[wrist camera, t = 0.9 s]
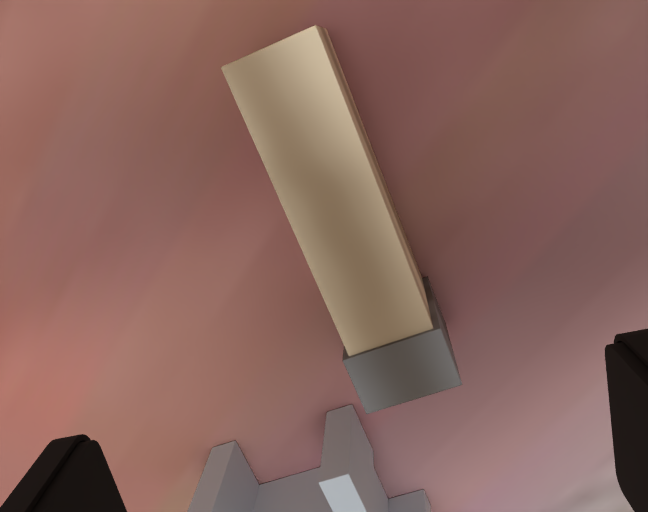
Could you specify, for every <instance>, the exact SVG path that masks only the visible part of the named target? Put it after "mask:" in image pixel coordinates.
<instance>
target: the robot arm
mask: <svg viewBox="0 0 648 512" xmlns="http://www.w3.org/2000/svg"><path fill="white" fill-rule="evenodd" d="M605 360H606V371H607V381H608V392H609V403H610V414H611V425H612V435H613V446H614V457H615V468H616V475H617V479H618V482H619V485H620V488H621V490H622V492H623V494H624V496H625V497H626V499H627V501H628V502H629V504H630V505H631V507H632V508H633V510H634V511H635V512H648V329H643V330H638V331H633V332H627V333H622V334H617V335H616V336H615V339H614V344H609V345H606V347H605ZM0 512H127V511H126V508H125V506H124V503H123V501H122V498H121V496H120V493H119V491H118V489H117V486H116V484H115V481H114V479H113V476H112V474H111V471H110V469H109V466H108V464H107V462H106V459H105V457H104V454H103V452H102V449H101V447H100V445H99V443H98V442H97V441H95V440H90V438H89V437H88V436H86V435H84V434H81V435H76V436H70V437H65V438H60V439H55V440H52V441H51V442H50V443H49V444H48V445H47V447H46V448H45V449H44V451H43V452H42V453H41V455H40V456H39V457H38V458H37V460H36V461H35V462H34V464H33V465H32V466H31V468H30V469H29V470H28V472H27V473H26V474H25V476H24V477H23V478H22V480H21V481H20V482H19V484H18V485H17V486H16V488H15V489H14V490H13V491H12V493H11V494H10V495H9V497H8V498H7V499H6V501H5V502H4V503H3V505H2V506H1V507H0Z"/></svg>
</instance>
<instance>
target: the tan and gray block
mask: <svg viewBox="0 0 648 512" xmlns="http://www.w3.org/2000/svg"><path fill="white" fill-rule="evenodd" d="M221 69H222V71H223V73H224V76H225V78H226V80H227V82H228V85H229V87H230V89H231V91H232V94H233V96H234V98H235V100H236V103H237V105H238V107H239V109H240V112H241V114H242V116H243V118H244V121H245V123H246V125H247V128H248V130H249V132H250V134H251V137H252V139H253V141H254V143H255V146H256V148H257V150H258V152H259V155H260V157H261V159H262V161H263V164H264V166H265V168H266V170H267V173H268V175H269V177H270V179H271V182H272V184H273V186H274V188H275V191H276V193H277V195H278V197H279V200H280V202H281V204H282V206H283V209H284V211H285V213H286V215H287V218H288V220H289V222H290V224H291V227H292V229H293V231H294V233H295V236H296V238H297V240H298V243H299V245H300V247H301V249H302V252H303V254H304V256H305V258H306V261H307V263H308V265H309V267H310V270H311V272H312V274H313V276H314V279H315V281H316V283H317V285H318V288H319V290H320V292H321V294H322V297H323V299H324V301H325V303H326V306H327V308H328V310H329V312H330V315H331V317H332V319H333V321H334V324H335V326H336V328H337V330H338V333H339V335H340V337H341V339H342V342H343V344H344V351H343V362H344V365H345V367H346V369H347V371H348V374H349V376H350V378H351V380H352V383H353V385H354V387H355V389H356V391H357V394H358V396H359V398H360V400H361V403H362V405H363V407H364V409H365V412H366V414H369V413H372V412H375V411H378V410H382V409H385V408H388V407H391V406H395V405H398V404H401V403H404V402H408V401H411V400H414V399H417V398H421V397H424V396H427V395H430V394H434V393H437V392H440V391H444V390H447V389H450V388H453V387H457V386H460V385H462V382H461V379H460V375H459V371H458V368H457V364H456V360H455V357H454V353H453V349H452V345H451V342H450V338H449V334H448V331H447V327H446V324H445V321H444V318H443V316H442V313H441V310H440V308H439V305H438V303H437V300H436V297H435V295H434V292H433V289H432V287H431V284H430V282H429V279H428V276H427V277H424V278H422V276H421V274H420V271H419V269H418V266H417V263H416V261H415V258H414V256H413V253H412V250H411V248H410V245H409V243H408V240H407V237H406V235H405V232H404V230H403V227H402V224H401V222H400V219H399V217H398V214H397V211H396V209H395V206H394V204H393V201H392V198H391V196H390V193H389V191H388V188H387V185H386V183H385V180H384V178H383V175H382V172H381V170H380V167H379V165H378V162H377V159H376V157H375V154H374V152H373V149H372V146H371V144H370V141H369V139H368V136H367V133H366V131H365V128H364V126H363V123H362V120H361V118H360V115H359V113H358V110H357V107H356V105H355V102H354V100H353V97H352V94H351V92H350V89H349V87H348V84H347V81H346V79H345V76H344V74H343V71H342V68H341V66H340V63H339V61H338V58H337V55H336V53H335V50H334V48H333V45H332V42H331V40H330V37H329V35H328V32H327V29H325V28H322V27H319V26H317V25H314V26H312V27H310V28H308V29H306V30H303V31H301V32H299V33H297V34H294V35H292V36H290V37H288V38H285V39H283V40H281V41H279V42H277V43H274V44H272V45H270V46H268V47H265V48H263V49H261V50H259V51H256V52H254V53H252V54H250V55H247V56H245V57H243V58H241V59H239V60H236V61H234V62H232V63H230V64H227V65H225V66H223V67H221Z"/></svg>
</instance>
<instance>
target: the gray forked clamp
mask: <svg viewBox="0 0 648 512" xmlns="http://www.w3.org/2000/svg"><path fill="white" fill-rule="evenodd" d="M187 512H431V507H430V503H429V500H428V498H427V496H426V493H425V491H424V489H423V490H419V491H415V492H412V493H408V494H405V495H401V496H397V497H394V498H390V499H388V497H387V495H386V493H385V491H384V489H383V486H382V484H381V482H380V480H379V478H378V476H377V473H376V471H375V469H374V453H373V449H372V447H371V445H370V443H369V440H368V438H367V436H366V434H365V432H364V429H363V427H362V425H361V423H360V421H359V418H358V416H357V414H356V412H355V410H354V407H353V405H352V404H351V405H348V406H345V407H341V408H338V409H335V410H332V411H329V412H327V414H326V423H325V431H324V440H323V448H322V457H321V465H320V467H319V468H315V469H312V470H308V471H305V472H302V473H298V474H295V475H291V476H288V477H284V478H281V479H278V480H274V481H271V482H267V483H264V484H261V485H259V483H258V481H257V480H256V478H255V476H254V474H253V472H252V470H251V468H250V466H249V465H248V463H247V461H246V459H245V457H244V455H243V453H242V451H241V450H240V448H239V446H238V444H237V442H236V440H235V441H232V442H229V443H226V444H223V445H219V446H216V447H213V448H212V450H211V452H210V455H209V457H208V460H207V463H206V465H205V468H204V470H203V473H202V475H201V478H200V481H199V483H198V486H197V488H196V491H195V493H194V496H193V498H192V501H191V504H190V506H189V509H188V511H187Z"/></svg>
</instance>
